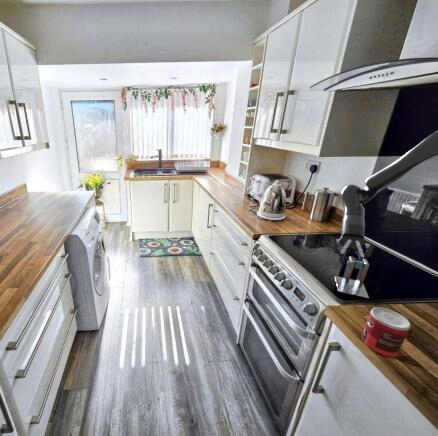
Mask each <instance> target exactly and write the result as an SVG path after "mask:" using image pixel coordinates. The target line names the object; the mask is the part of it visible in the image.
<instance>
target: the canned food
mask: <svg viewBox="0 0 438 436" xmlns="http://www.w3.org/2000/svg"><path fill="white" fill-rule="evenodd" d="M410 329H411V322H410V321H409V319H408V318H407V317H405V316H404V315H402V314H400V313H398V312H397V311H395V310H392V309H389V308H385V307H381V306H378V307H377V306H376V307H373V308H372V309H370V312H369V315H368V318H367V321H366V323H365V326H364V329H363V331H362V334H361V340H362V342H363V344H365V345H366V346H367V347H368V348H369V349H370V350H372V351H374V354H376V355H377V356H380V357H383V358H387V359H390V358H391V357H397V356H398V354H399V352H400V350H401V348H402V346H403V343H404V342H405V339H406V338H407V335H408V334H409V331H410Z"/></svg>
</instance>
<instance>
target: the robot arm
mask: <svg viewBox="0 0 438 436" xmlns="http://www.w3.org/2000/svg"><path fill="white" fill-rule="evenodd" d="M437 156H438V129H437V130H435V131H434V132H433V133H431V134H430V135H428V136H427V137H426V138H424V139H423V140H422V141H420V142H419V143H418V144H417V145H415V146H413V148H411V149H410V150H408V151H407V152H406V153H405V154H403V155H402V156H400V157H399V158H397V159H396V160H395V161H393V162H391V163H390V164H389V165H387V166H385V167H383V168H382V169H380V170H378V171H377V172H375V173H374V174H371V175H370V176H368V177H367V178H365V180H364V183H365V187H364V188H362V187H360V186H358V185H357V184H347V185H346V186H344V187H342V189H341V191H340V201H341V203H342V204H341V205H342V208H343V211H342V212H343V213H342V221H341V229H340V230H341V232H340V237H339V238H336V237H333V238H332V239H331V240H330V241H331V246H332V251H333V253H334V254H337V255H338V263H340V264H341V265H343V264H344V262H345V260H344V256H345V252H346V250H348V251H349V250H350V251H354V252H355V254H356V255H357V257H358V258H357V259H359V261H361V262H362V260H363V259H369V258H370V257H371V255H372V253H373V250H374V247H375V244H374V243H367V242H366V241H365V228H366V221H365V207H364V206H363V205H362V204H365V203H368V202H369V201H370V200H371V199H372V198H374V197H375V196H376V195H377V194H378V193H379V192H380V191H382V190H384V189H386V188H387V187H390V186H392V185H393V184H395V183H397V182H399V181H400V180H401V179H403V178H404V177H405V176H407V174H409V173H410V172H411V171H412V170H413V169H414V168H416V167H418V166H419V165H421V164H422V163H424V162H426V161H428V160H430V159H432V158H435V157H437ZM338 244H340V245H341V246H342V247H341V248H340V249H339V246H338ZM363 247H365V249H366V250H365V253H364V251H363Z"/></svg>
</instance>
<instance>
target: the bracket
mask: <svg viewBox="0 0 438 436" xmlns="http://www.w3.org/2000/svg"><path fill="white" fill-rule="evenodd" d="M348 257H349V260H346V261H347V262H346V267H345V270H344V273H343V276H342V277H341V276H338V275H334V280H335V285H336V288H337V292H339V293H344V294H349V295H351V296H352V295H353V296H356V297H361V298H363V299H370V297H369V295H368V294H369V293H368V292H367V290H366V287H365V285H364V282H365V278H366V275H367V273H368V270H369V267H370V264H369V262H368V260H367V258H364V259H363V260H362V263H363V266H362V269H359V270H358V273H357V276H356V277H355V278H356V279H352V278H351V276H352V273H353V270H354V264H355V261H354V259H353V258H354V256H348Z"/></svg>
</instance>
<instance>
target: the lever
mask: <svg viewBox="0 0 438 436" xmlns="http://www.w3.org/2000/svg"><path fill="white" fill-rule="evenodd" d="M349 257H350V256H345V255H344V261H348V260H349ZM353 259H354V261H355V264H354V267H353V269H362V266H363V263H362V262H361V261H359V259H358V258H356V257H353Z"/></svg>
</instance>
